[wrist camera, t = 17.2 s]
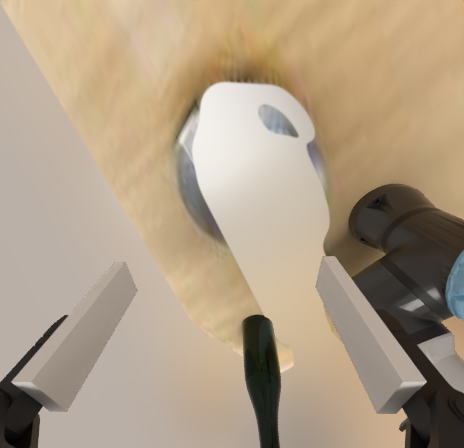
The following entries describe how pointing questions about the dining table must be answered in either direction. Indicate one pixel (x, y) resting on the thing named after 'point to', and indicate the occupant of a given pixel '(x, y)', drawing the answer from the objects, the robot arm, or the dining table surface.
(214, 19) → the dining table surface
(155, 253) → the dining table surface
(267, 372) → the dark green bottle
